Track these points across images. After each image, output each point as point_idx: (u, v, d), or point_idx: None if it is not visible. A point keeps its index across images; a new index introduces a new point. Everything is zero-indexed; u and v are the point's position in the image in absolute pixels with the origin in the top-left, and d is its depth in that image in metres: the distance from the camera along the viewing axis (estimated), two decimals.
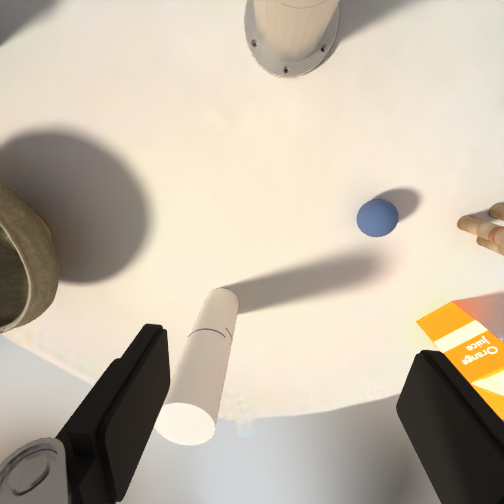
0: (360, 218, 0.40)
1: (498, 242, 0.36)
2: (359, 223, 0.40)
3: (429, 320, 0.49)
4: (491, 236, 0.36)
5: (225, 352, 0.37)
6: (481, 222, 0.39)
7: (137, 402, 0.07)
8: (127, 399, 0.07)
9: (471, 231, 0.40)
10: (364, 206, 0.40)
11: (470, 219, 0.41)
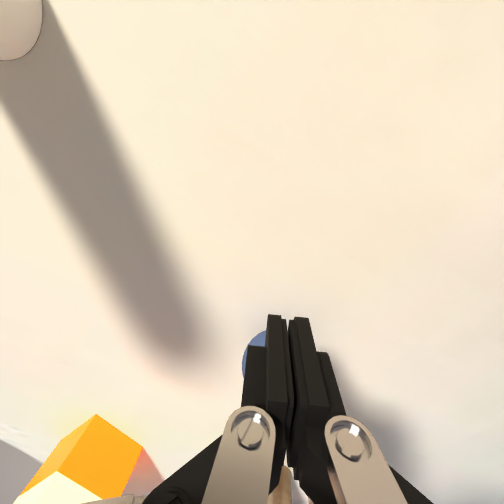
0: None
1: None
2: None
3: (102, 435, 0.30)
4: None
5: None
6: None
7: None
8: None
9: None
10: None
11: None
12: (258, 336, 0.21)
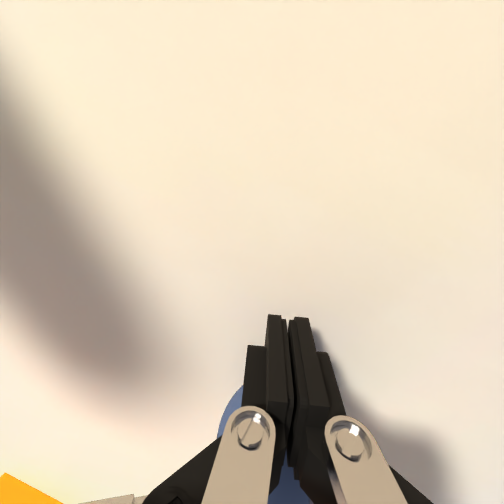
0: (287, 496, 0.08)
1: None
2: None
3: None
4: None
5: None
6: None
7: None
8: None
9: None
10: None
11: None
12: None
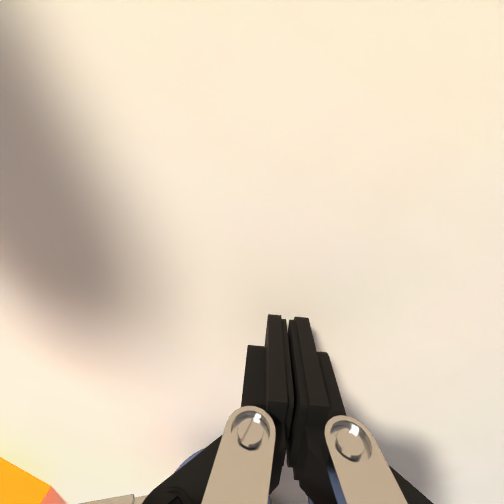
0: None
1: None
2: None
3: None
4: None
5: None
6: None
7: None
8: None
9: None
10: None
11: None
12: None
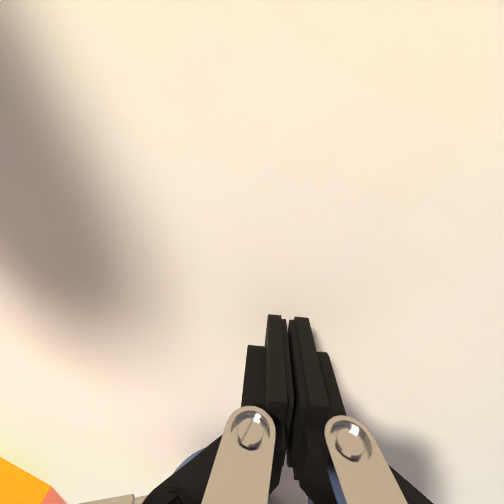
0: None
1: None
2: None
3: None
4: None
5: None
6: None
7: None
8: None
9: None
10: None
11: None
12: None
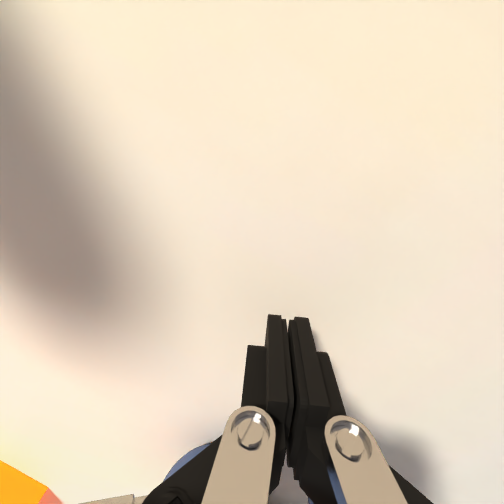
0: None
1: None
2: None
3: None
4: None
5: None
6: None
7: None
8: None
9: None
10: None
11: None
12: None
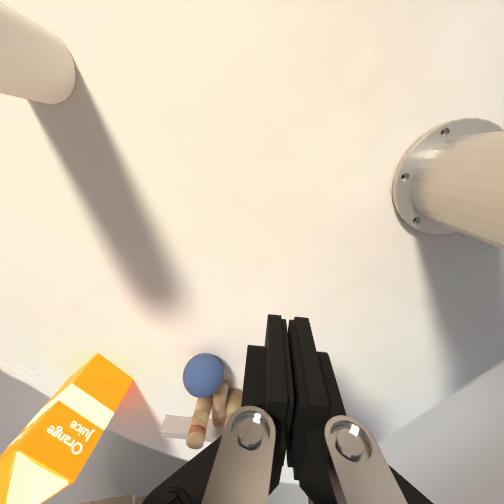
0: None
1: (213, 424, 0.43)
2: None
3: (102, 366, 0.41)
4: (215, 422, 0.43)
5: None
6: (224, 407, 0.42)
7: None
8: None
9: (214, 404, 0.41)
10: None
11: (224, 398, 0.41)
12: None
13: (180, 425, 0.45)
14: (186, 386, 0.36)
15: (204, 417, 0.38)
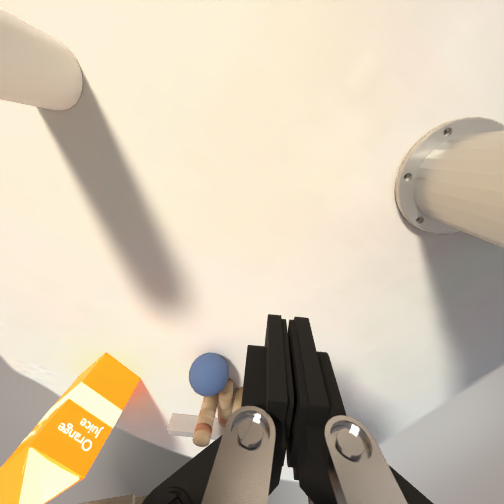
0: None
1: (219, 423, 0.44)
2: None
3: (110, 365, 0.42)
4: (221, 421, 0.43)
5: None
6: (230, 406, 0.42)
7: None
8: None
9: (220, 402, 0.42)
10: None
11: (230, 397, 0.42)
12: None
13: (186, 423, 0.45)
14: (192, 385, 0.37)
15: (210, 415, 0.39)
